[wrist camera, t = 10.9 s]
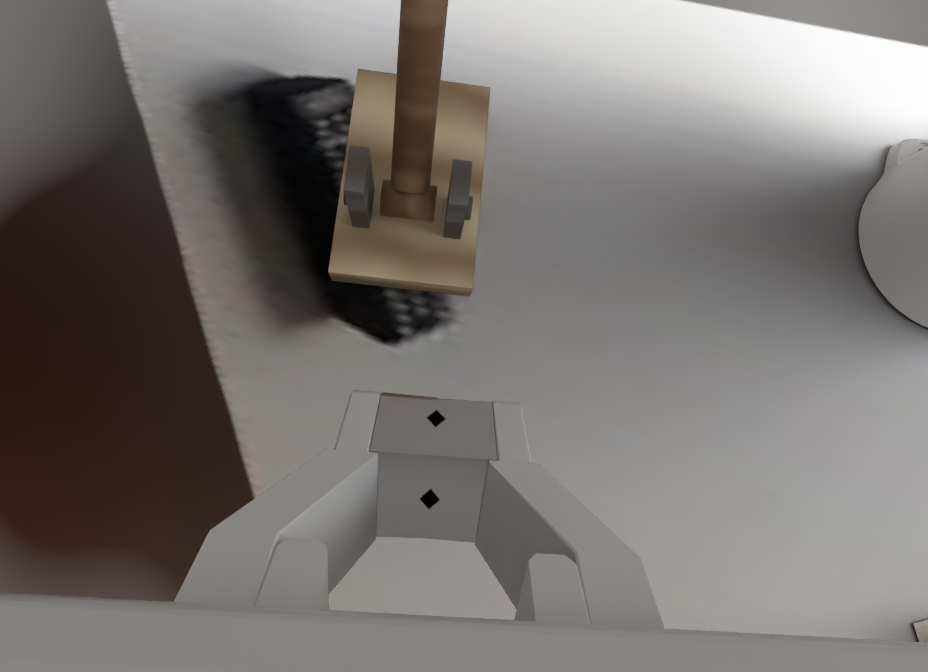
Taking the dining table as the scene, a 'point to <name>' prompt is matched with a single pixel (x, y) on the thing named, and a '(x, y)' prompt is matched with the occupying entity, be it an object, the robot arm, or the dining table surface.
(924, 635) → the condiment
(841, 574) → the dining table surface
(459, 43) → the dining table surface
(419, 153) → the lever
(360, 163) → the press base
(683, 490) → the dining table surface
